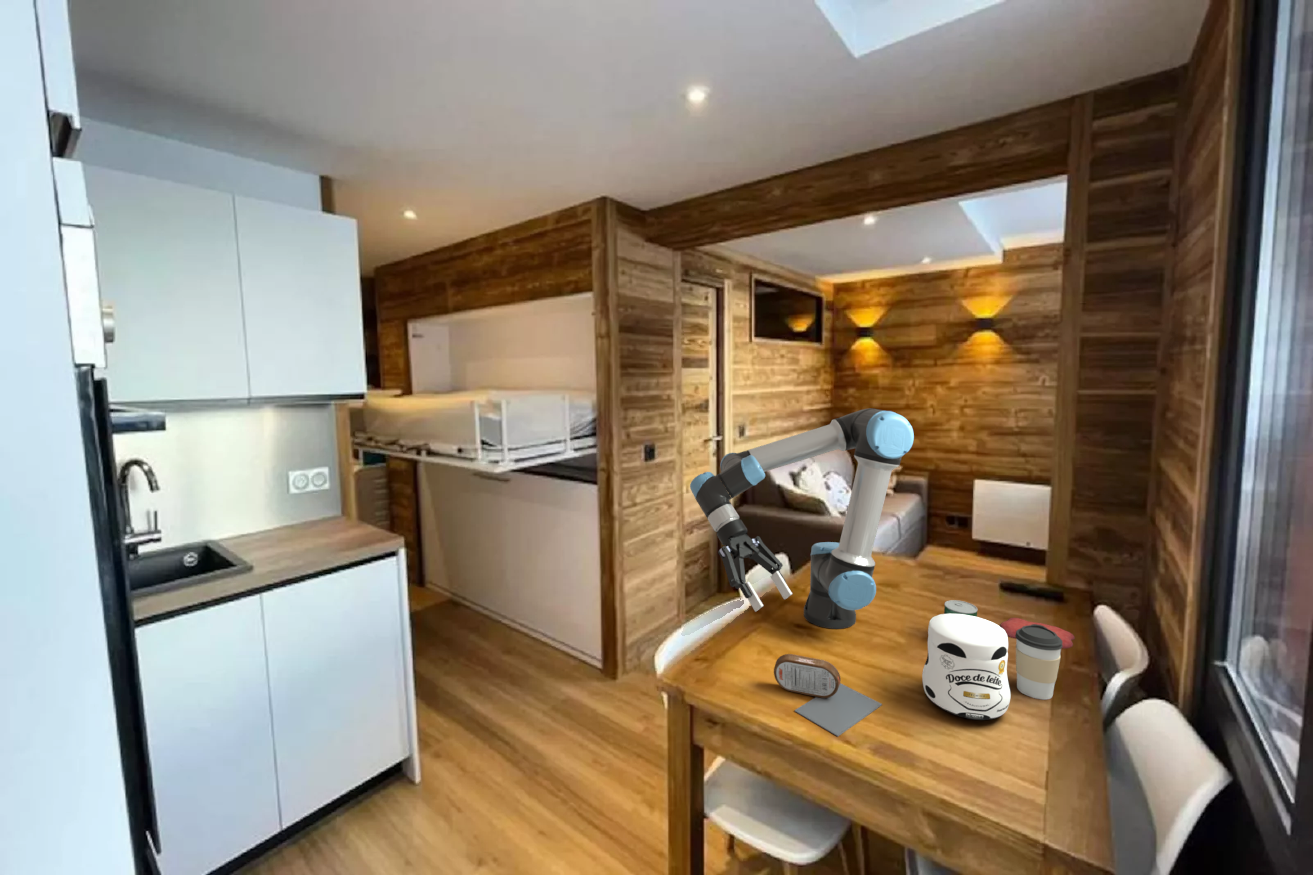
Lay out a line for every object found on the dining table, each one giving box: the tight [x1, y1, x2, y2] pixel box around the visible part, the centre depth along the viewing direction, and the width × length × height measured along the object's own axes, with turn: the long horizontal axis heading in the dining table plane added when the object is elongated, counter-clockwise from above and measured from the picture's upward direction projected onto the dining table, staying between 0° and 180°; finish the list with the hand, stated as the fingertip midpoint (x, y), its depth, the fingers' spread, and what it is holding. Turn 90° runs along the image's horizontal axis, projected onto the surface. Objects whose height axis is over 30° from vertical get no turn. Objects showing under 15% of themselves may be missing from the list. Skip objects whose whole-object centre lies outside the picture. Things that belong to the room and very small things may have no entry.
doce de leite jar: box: [921, 613, 1012, 721], centre depth 125 cm, size 17×17×18 cm
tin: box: [773, 653, 842, 698], centre depth 130 cm, size 15×3×8 cm, turn 65°
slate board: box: [794, 682, 883, 737], centre depth 125 cm, size 11×17×1 cm, turn 128°
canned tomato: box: [943, 599, 978, 617], centre depth 152 cm, size 8×8×11 cm
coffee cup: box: [1015, 624, 1063, 700], centre depth 130 cm, size 9×9×15 cm
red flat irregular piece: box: [999, 617, 1076, 649], centre depth 158 cm, size 18×14×2 cm
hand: (774, 602), depth 136 cm, fingers open, 10 cm apart
